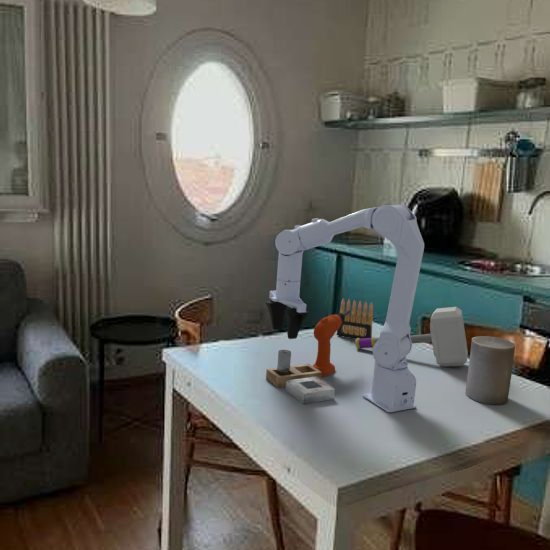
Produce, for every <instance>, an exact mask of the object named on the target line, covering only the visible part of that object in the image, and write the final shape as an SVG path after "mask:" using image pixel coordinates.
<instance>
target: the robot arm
mask: <svg viewBox="0 0 550 550" xmlns="http://www.w3.org/2000/svg"><path fill="white" fill-rule="evenodd" d="M359 228H365V229H368V230H373V229H374V230H375V231H376V232H377V233H378V234H379V235H380V236H382V237H383V238H386V239H387V240H389V242H390V243H391V244H392V245H393V246H394V248H395V249H396V250H397V252H398V253H397V255H398V256H397V258H396V259H397V260H396V265H395V269H394V274H393V280H392V285H391V290H390V291H391V292H390V297H389V303H388V306H387V307H388V308H387V313H386V318H385V322H384V324H383V327H381V331H380V333H379V336H378V338H379V340H378V341H377V342H376V343H375V345H374V347H372V355H373V359H374V366H373V373H372V374H373V377H372V385H371V392H368V393H364V394H363V395H362V397H363V398H365V399H367V401H369V402H371V403H373V404H374V405H376V406H378V407H379V408H380V409H382V410H384V411H386V412H387V413H395V412H401V411H405V410H410V409H416V408H417V404H415V397H416V389H417V378H416V376H415V374H413V373H412V372H411V371H410V369H409V366H408V365H409V364H408V359H407V357H406V356H408V355H409V354H410V353H411V352H412V347H413V344H412V341H411V338H410V335H411V332H412V331H411V330H412V328H411V325H410V321H411V317H412V311H413V305H414V301H415V296H416V291H417V287H418V286H417V285H418V280H419V276H420V275H419V274H420V271H421V267H422V266H421V265H422V261H423V255H424V251H425V250H424V249H425V242H424V239H423V237H422V234H421V232H420V228H419V225H418V222H417V216H416V215H415V214H414V213H413V212H412V210H411V209H410V208H409V207H408V206H406V205H404V204H401V203H396V204H393V205H390V204H389V205H388V204H384V205H381V206H378V207H377V206H376V207H370V208H365V209H361V210H358V211H356V212H353V213H350V214H348V215H346V216H342V217H339V218H337V219H335V220H332V221H329V220H326V219H325V218H319V217H316V218H312V219H311V222H308V223H306V224H303V225H301V224H296V225H294V228H293V229H283V230H282V231H280V232H279V233H278V234H277V235H276V237H275V240H274V241H275V242H274V244H275V248H276V250H277V251H278V258H277V259H278V260H277V271H276V273H277V274H276V286H275V290H269V297H268V298H269V299H270V300H266V301H265V305H266V307H267V309H268V313H269V315H270V319H271V327H272V330H273V331H277V330H279V331H280V330H282V328H283V323H284V317H285V319H286V324H287V326H286V327H287V328H286V329H287V330H286V332H287V334H286V335H287V339H289V340H292V339H293V340H294V339H297V338H298V336H299V333H300V330H301V328H302V327H301V326H302V325H303V323H304V321H305V319H306V318H307V317H308V315H309V311H307V304H306V303H304V301H303V300H302V299H301V298H300V290H301V289H300V288H301V279H302V278H301V277H302V268H303V267H302V266H303V253H304V251H307V250H311V249H313V248H316V247H320V246H324V245H327V244H330V243H331V241H332V240H333V238H334V236H335V235H339V234H343V233H345V232H346V233H347V232H350V231H353V230H355V229H356V230H357V229H359ZM287 308H291V309H287Z"/></svg>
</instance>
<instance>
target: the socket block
mask: <svg viewBox="0 0 550 550" xmlns="http://www.w3.org/2000/svg"><path fill="white" fill-rule="evenodd" d="M285 391H286V392H287V391H288V392H289V394H290V395H291V396H292V395H293V398H295V399H296V398H297V401H299V403H301V404H303V405H305V404H306V403H307V404H312V402H313V403H317V402H324V401H325V402H326V401H329V400H335V392H336V389H335V388H334V387H333V386H331V385H330V384H328V383H327V382H325V381H323V380H322V379H321V380H320V379H319V378H317V377H309V378H301V379H294V380H287V381H286V387H285ZM288 392H287V393H288Z"/></svg>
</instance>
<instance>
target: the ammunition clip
mask: <svg viewBox="0 0 550 550" xmlns="http://www.w3.org/2000/svg"><path fill="white" fill-rule="evenodd" d="M345 307H346V308H345ZM368 307H369V308H368ZM339 309H340V310H339V313H342V314H343V313H344V312H346V311H347V310H350V313H349V314H348V315H346V316H345V320H344V321H343V322H342V324H341V326H340V328H339V329H338V330H337V331H336V335H339V336H338V337H340V336H344V337H343V338H346V337H350V338H349V339H352V338H356V339H357V338H360V339H363V338H372V337H373V336H372V335H373V319H374V304H373V302H372V301H371V302H370V303H369V306H368V303H367V301H364V304H363V305H362V300H359V302H358V305H357V301H356V300H355V299H354V300H353V302H352V306H351V299H349V298H348V300H347V302H345V298H342V299H341V303H340V307H339ZM362 309H363V310H362ZM356 339H355V340H356Z"/></svg>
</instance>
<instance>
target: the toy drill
mask: <svg viewBox="0 0 550 550" xmlns="http://www.w3.org/2000/svg"><path fill="white" fill-rule="evenodd" d="M349 313H350V314H351V309H350V310H347V311H346V310H345V312H344V313H343V314H342V313H340V312H339V313H336V314H329V315H328V316H326V317H323V318H321V319H320V320H319V321H318V322H317V324H316V325H314V326H315V327H314V329H313V336H314V338H315V339H316V341H317V355H316V358H315V359H316V360H315V362H314V363H313V364H312V366H313V367H315V368H316V369H318V370H319V371H321V372H322V377H326V376H329V374H330V375H332V374H333V373H334V372H335V370H336V366H335V365H334V364H333V363H332V362H331V339H333V337H334V335H335V334H337V330H338V329H339V328H340V326H341V324H342V322H343V321H344V320H345V316H346V315H348V314H349ZM331 373H332V374H331Z"/></svg>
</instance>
